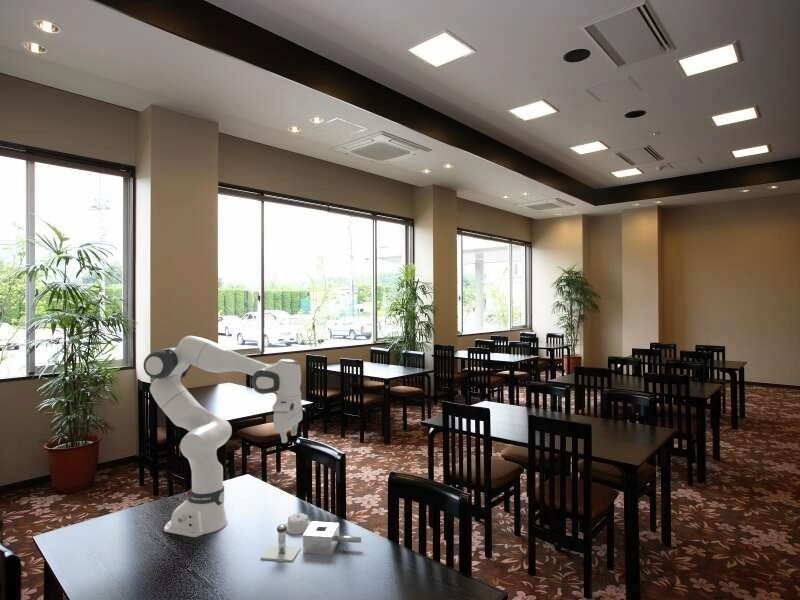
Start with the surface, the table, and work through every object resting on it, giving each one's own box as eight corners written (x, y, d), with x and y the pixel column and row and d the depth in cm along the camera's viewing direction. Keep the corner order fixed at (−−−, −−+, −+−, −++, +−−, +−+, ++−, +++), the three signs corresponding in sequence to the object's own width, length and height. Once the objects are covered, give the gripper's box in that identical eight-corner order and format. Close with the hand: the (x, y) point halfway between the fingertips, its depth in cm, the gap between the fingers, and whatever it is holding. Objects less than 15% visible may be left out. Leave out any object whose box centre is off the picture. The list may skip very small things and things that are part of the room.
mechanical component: (307, 535, 173) (314, 522, 183) (307, 523, 173) (314, 511, 183) (281, 534, 174) (289, 521, 184) (280, 522, 174) (289, 510, 184)
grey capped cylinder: (275, 554, 158) (275, 527, 158) (279, 549, 161) (279, 523, 161) (284, 555, 158) (284, 528, 158) (288, 550, 161) (288, 523, 161)
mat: (260, 559, 156) (260, 557, 156) (270, 547, 164) (270, 545, 164) (292, 561, 155) (292, 560, 155) (300, 549, 163) (300, 547, 163)
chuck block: (303, 552, 161) (303, 534, 161) (312, 537, 170) (312, 521, 170) (357, 556, 158) (357, 538, 158) (363, 541, 168) (363, 524, 168)
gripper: (291, 396, 189) (291, 430, 189) (270, 407, 168) (270, 446, 168) (306, 396, 188) (306, 431, 188) (287, 408, 167) (287, 447, 167)
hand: (289, 438), depth 178 cm, fingers open, 8 cm apart
